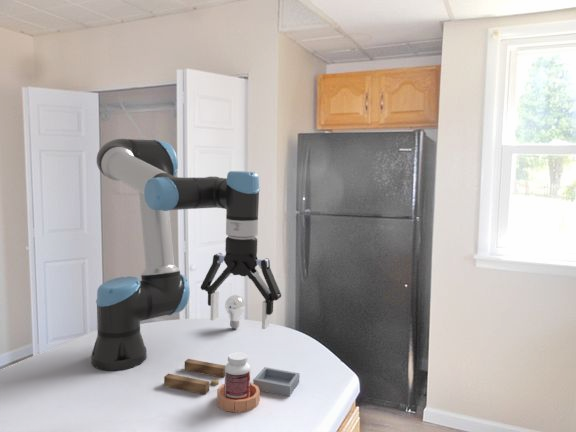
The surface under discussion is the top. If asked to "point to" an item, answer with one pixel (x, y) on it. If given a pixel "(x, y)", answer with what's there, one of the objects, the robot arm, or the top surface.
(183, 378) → the cradle
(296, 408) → the top surface
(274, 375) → the trough
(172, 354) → the top surface
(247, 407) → the terracotta round dish
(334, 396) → the top surface
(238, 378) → the pill bottle
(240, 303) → the light bulb
